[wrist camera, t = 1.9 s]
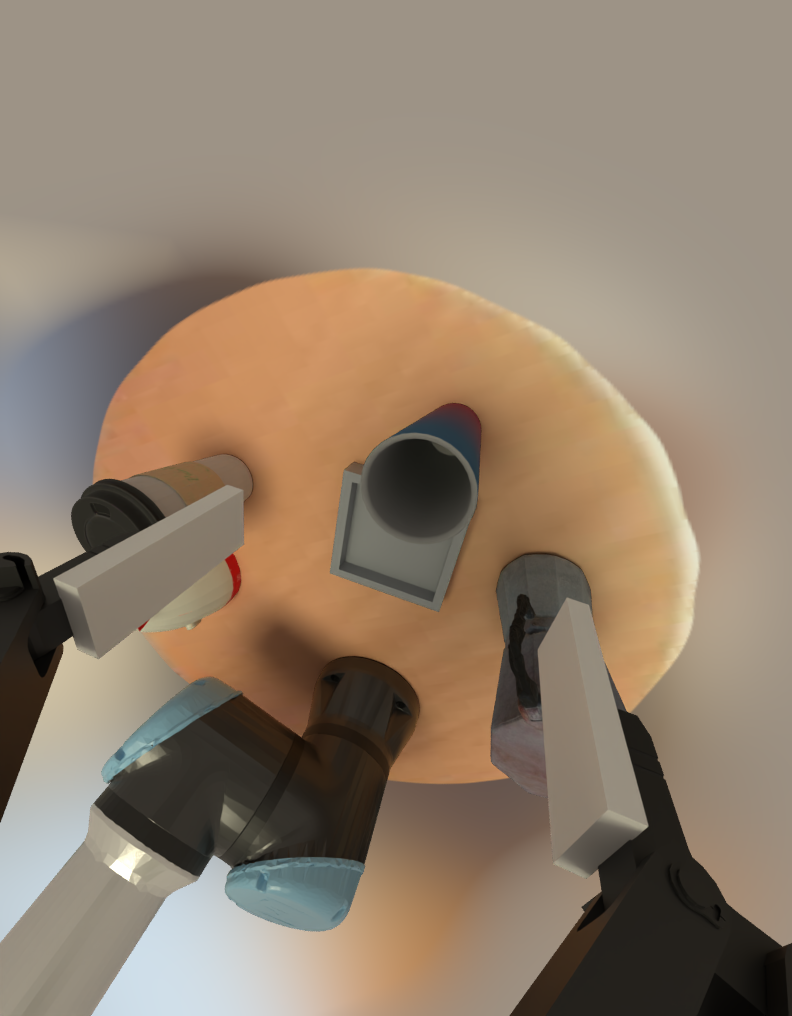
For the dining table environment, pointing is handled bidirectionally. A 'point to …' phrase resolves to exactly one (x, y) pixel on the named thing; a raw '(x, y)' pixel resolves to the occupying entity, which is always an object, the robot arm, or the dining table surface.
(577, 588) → the moka pot
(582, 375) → the dining table surface
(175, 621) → the kitchen timer
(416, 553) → the tray
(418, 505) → the cup
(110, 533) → the coffee cup
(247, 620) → the dining table surface
